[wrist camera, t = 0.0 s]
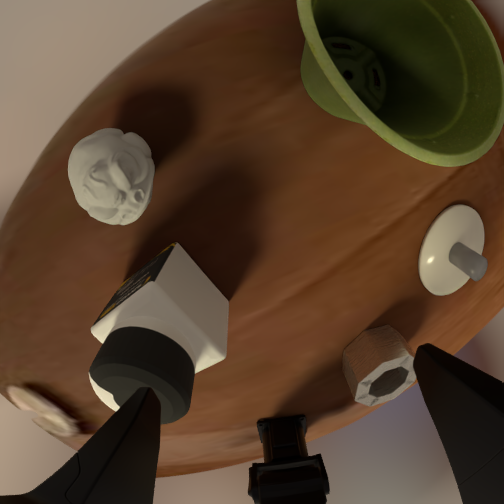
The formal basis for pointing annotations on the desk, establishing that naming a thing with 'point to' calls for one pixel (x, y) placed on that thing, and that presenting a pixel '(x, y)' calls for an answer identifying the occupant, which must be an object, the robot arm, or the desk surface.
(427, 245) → the hub post
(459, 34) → the plant pot
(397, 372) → the ring
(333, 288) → the desk surface
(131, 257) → the desk surface
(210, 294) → the medicine bottle
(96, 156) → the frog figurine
